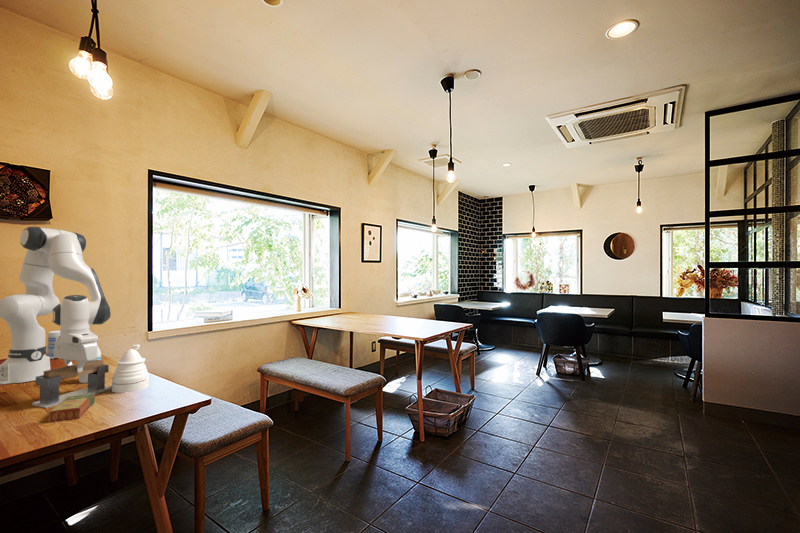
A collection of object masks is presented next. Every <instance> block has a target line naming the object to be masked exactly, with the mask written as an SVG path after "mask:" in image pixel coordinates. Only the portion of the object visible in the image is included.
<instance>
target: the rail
mask: <svg viewBox="0 0 800 533" xmlns="http://www.w3.org/2000/svg"><path fill="white" fill-rule="evenodd" d="M103 364H104V360H102V359H101V360H95V361H91V362H85V364H84V366H83V371H82V372H75V368H77V365H78V364H77V363H75V364H72V365H70V366H66V365H65V366H61V367H58V368H53V369H50V370H47V371H44V377H46V378H51V377H56V376H61V381H65V380H68V379H72V378H77V377H79V376H81V375H85V374H89V373H94V372H97V367H100V366H103Z"/></svg>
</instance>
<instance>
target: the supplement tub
mask: <svg viewBox="0 0 800 533" xmlns="http://www.w3.org/2000/svg"><path fill="white" fill-rule="evenodd" d="M59 336H60V329H59V330H58V329H57V330H52V331H48V333H47V342H46V344H47V345H46V348H47V353H46V356H48V357H49V359H50V360H55V359H54V358H55V357H54V347H55V342H56V341H57V338H58V337H59Z"/></svg>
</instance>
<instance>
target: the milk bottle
mask: <svg viewBox="0 0 800 533" xmlns="http://www.w3.org/2000/svg"><path fill="white" fill-rule="evenodd" d="M95 342H96V343H97V358H96V360H102V352H101V349H100V347H99V345H98V341H95ZM78 382H79V383H81V384H88V374H85V375H81V376H78Z"/></svg>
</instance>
